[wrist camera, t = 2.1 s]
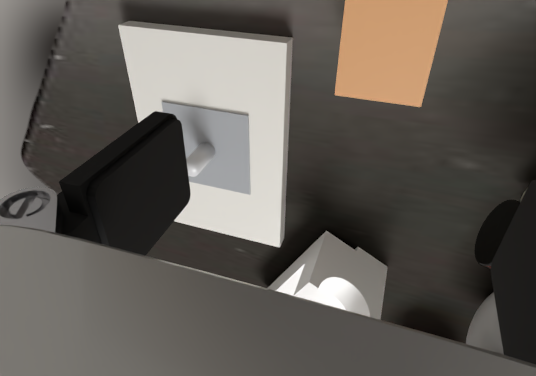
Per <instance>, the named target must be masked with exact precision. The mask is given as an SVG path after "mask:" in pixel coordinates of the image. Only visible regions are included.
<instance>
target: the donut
mask: <svg viewBox="0 0 536 376" xmlns="http://www.w3.org/2000/svg"><path fill="white" fill-rule="evenodd" d="M466 344H468V345H471V346H475V347H479V348H482V349H486V350H490V351H493V352H497V353H500V354H503V355H504V353H503V347H502V340H501V334H500V328H499V322H498V316H497V309H496V303H495V297H494V292H493V293H492V294H491V295H489V296H488V297H487V298H486V299H485V300H484V302H483V303H482V304H481V306H480V307H479V308H478V310H477V311H476V313H475V315H474V317H473V319H472V321H471V324H470V327H469V330H468V334H467V338H466Z"/></svg>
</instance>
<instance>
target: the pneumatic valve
mask: <svg viewBox="0 0 536 376" xmlns="http://www.w3.org/2000/svg"><path fill="white" fill-rule="evenodd" d="M526 190H527V189H526ZM526 190H525V191H524V193H523V195H522V197H521V199H520V202H521V200H522V198H523V196H524V194H525V192H526ZM520 202H519V201H517V200H507V201H504V202H502V203H501V204H499V205H498V206H497V207H496V208H495V209H494V210H493V211H492V212H491V213H490V214H489V215H488V217H487V218H486V220H485V221H484V223H483V225H482V227H481V229H480V231H479V233H478V236H477V239H476V244H475V257H476V260H477V262H478V263H479V264H480V265H482V266H484V267H486V268H488V269H490V270H491V264H492V261H493V258H494V256H495V254H496V252H497V250H498V248H499V246H500V244H501V242H502V240H503V237H504V235H505V233H506V231H507V229H508V227H509V225H510V223H511V221H512V219H513V217H514V215H515V213H516V211H517V209H518V207H519V204H520Z"/></svg>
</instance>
